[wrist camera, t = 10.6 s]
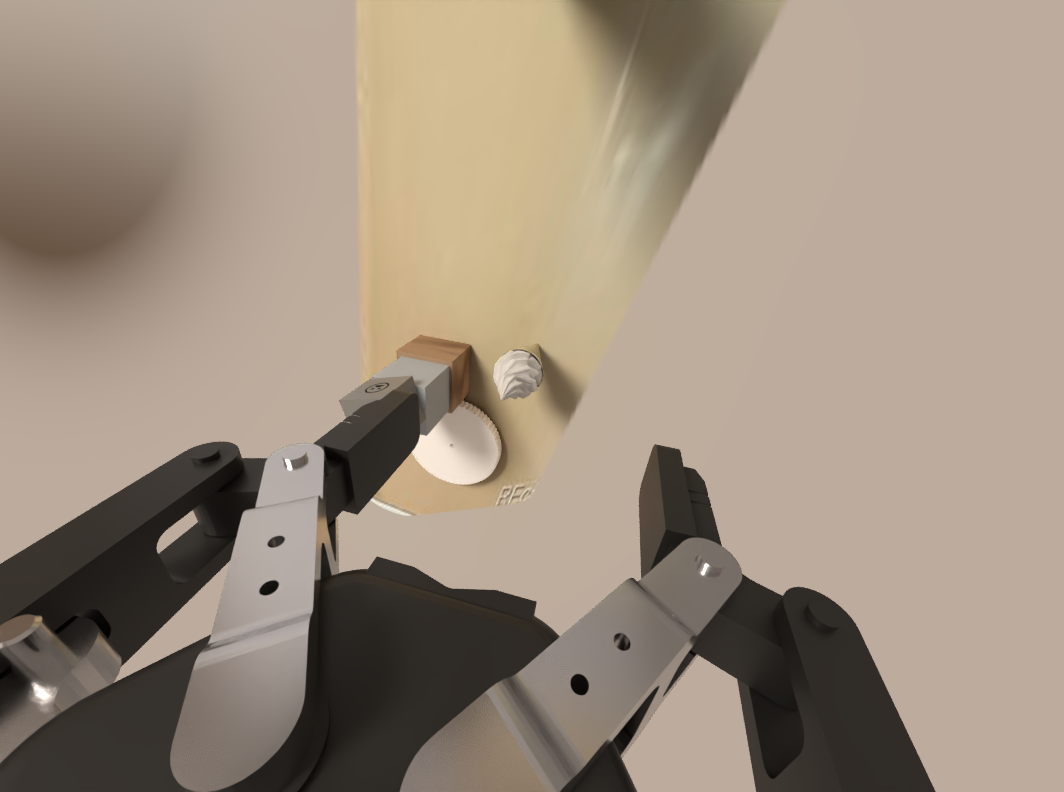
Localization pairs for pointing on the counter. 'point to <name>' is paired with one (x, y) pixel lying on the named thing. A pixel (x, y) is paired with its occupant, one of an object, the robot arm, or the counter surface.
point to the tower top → (424, 386)
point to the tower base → (444, 362)
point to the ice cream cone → (519, 372)
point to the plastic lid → (460, 446)
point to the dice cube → (378, 393)
